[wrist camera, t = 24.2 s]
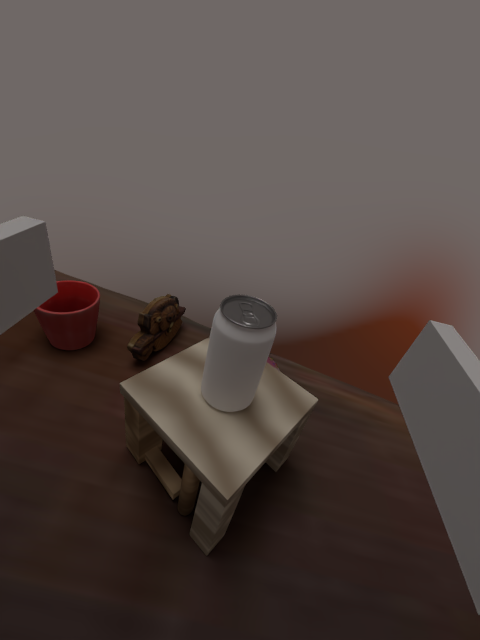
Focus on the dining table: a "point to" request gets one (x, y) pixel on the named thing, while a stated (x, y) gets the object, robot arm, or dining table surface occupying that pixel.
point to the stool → (218, 431)
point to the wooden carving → (156, 326)
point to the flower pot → (70, 315)
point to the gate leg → (159, 460)
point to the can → (237, 352)
